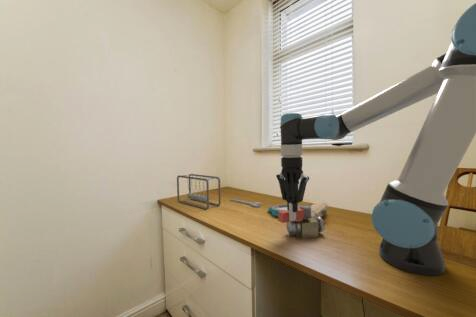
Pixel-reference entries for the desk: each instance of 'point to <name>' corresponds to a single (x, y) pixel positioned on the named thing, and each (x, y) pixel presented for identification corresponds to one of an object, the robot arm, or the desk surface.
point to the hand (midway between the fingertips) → (292, 219)
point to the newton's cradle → (198, 197)
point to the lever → (302, 213)
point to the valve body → (306, 227)
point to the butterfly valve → (316, 209)
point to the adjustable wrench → (248, 203)
